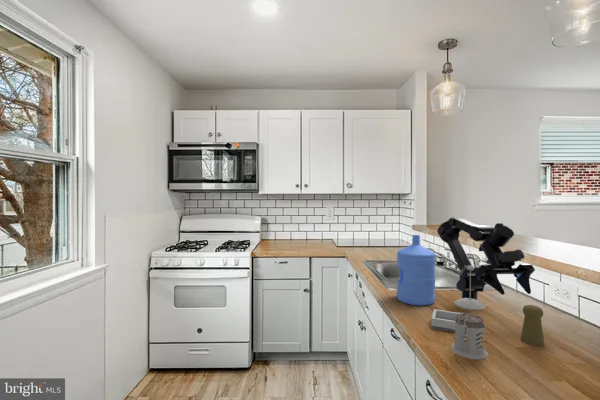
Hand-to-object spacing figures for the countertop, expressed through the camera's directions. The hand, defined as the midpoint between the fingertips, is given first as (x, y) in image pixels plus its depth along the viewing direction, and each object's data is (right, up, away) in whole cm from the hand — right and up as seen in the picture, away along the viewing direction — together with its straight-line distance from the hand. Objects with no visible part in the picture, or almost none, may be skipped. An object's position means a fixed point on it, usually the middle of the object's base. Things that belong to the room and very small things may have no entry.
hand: (516, 293), depth 109 cm
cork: (0, -13, -7) cm, 15 cm away
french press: (-23, -13, -14) cm, 30 cm away
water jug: (-22, -12, +33) cm, 41 cm away
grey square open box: (-21, -13, +5) cm, 25 cm away
